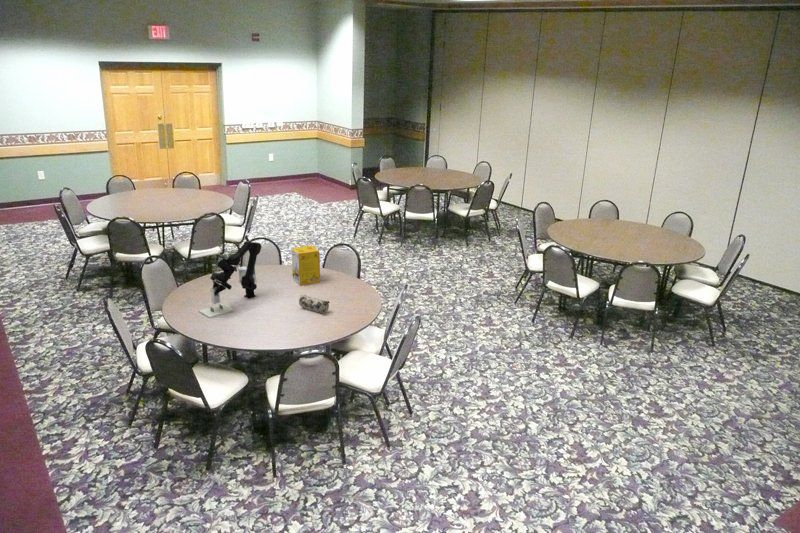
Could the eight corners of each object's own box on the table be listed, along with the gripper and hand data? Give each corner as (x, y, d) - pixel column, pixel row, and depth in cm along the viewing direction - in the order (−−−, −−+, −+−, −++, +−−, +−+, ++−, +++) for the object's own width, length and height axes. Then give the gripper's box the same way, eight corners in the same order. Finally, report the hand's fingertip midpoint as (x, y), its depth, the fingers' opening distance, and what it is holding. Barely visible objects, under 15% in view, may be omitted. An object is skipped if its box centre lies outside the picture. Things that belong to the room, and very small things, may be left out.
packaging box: (292, 279, 446) (291, 247, 438) (312, 275, 453) (311, 245, 445) (299, 285, 432) (298, 253, 424) (320, 282, 440) (319, 251, 431)
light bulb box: (256, 280, 442) (255, 266, 439) (253, 283, 436) (252, 269, 433) (242, 279, 443) (241, 265, 440) (239, 282, 437) (238, 268, 433)
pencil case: (330, 311, 389) (330, 298, 386) (322, 315, 382) (322, 302, 379) (305, 304, 400) (305, 291, 397) (297, 308, 393) (296, 295, 390)
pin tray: (234, 310, 387) (234, 305, 386) (209, 318, 375) (209, 313, 374) (223, 304, 396) (223, 300, 395) (199, 312, 384) (198, 307, 383)
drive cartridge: (220, 302, 384) (218, 288, 380) (214, 303, 381) (213, 289, 378) (217, 300, 386) (216, 286, 383) (211, 302, 383) (210, 288, 380)
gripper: (211, 264, 385) (197, 283, 381) (225, 271, 372) (211, 291, 368) (223, 272, 392) (209, 291, 389) (237, 279, 380) (223, 299, 376)
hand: (213, 293), depth 380 cm, fingers closed on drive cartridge, 4 cm apart
